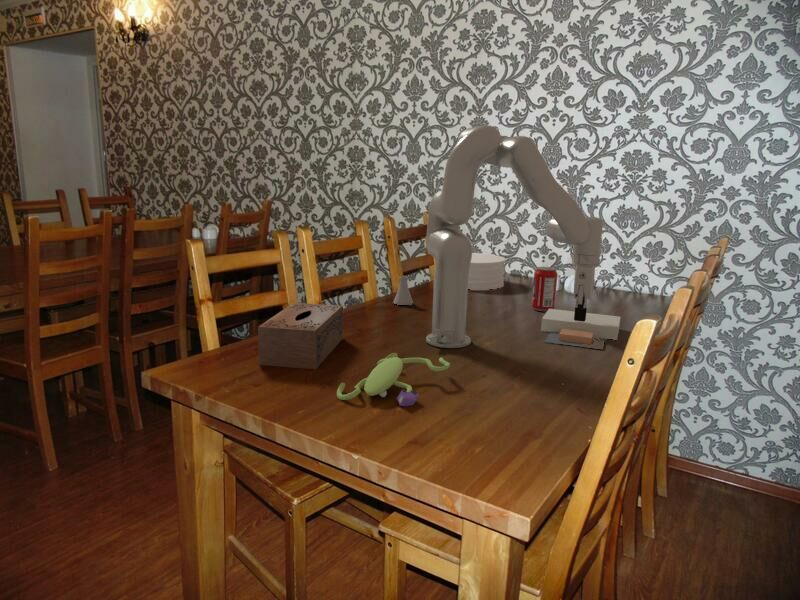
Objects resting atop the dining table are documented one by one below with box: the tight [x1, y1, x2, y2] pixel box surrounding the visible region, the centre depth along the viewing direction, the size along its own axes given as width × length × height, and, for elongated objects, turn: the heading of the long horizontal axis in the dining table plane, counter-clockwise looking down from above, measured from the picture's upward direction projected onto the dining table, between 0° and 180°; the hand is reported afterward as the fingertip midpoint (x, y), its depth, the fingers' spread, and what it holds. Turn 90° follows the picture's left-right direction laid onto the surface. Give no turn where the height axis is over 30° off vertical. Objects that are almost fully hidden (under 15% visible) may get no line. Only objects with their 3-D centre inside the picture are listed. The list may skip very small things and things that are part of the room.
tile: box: [559, 329, 594, 345], centre depth 166 cm, size 6×9×2 cm, turn 67°
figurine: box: [336, 352, 451, 407], centre depth 128 cm, size 18×27×6 cm
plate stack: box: [468, 252, 506, 291], centre depth 244 cm, size 28×28×12 cm
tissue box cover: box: [257, 302, 344, 370], centre depth 150 cm, size 26×14×10 cm, turn 171°
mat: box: [544, 332, 607, 348], centre depth 166 cm, size 12×16×1 cm
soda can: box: [531, 266, 558, 313], centre depth 200 cm, size 8×8×15 cm
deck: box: [540, 308, 622, 341], centre depth 177 cm, size 14×22×4 cm, turn 67°
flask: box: [392, 275, 414, 306], centre depth 204 cm, size 7×7×10 cm
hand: (579, 320), depth 170 cm, fingers closed
